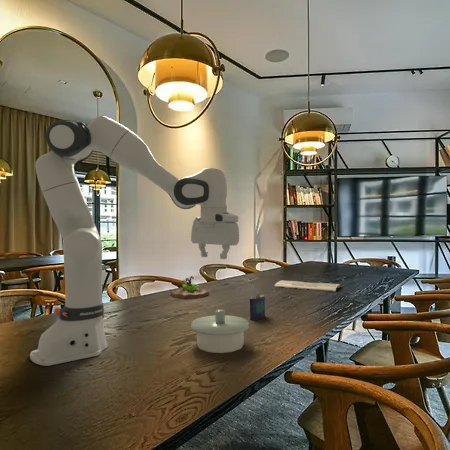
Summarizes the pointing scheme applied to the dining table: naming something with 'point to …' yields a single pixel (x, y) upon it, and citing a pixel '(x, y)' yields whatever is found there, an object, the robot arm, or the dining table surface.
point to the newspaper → (308, 285)
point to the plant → (189, 291)
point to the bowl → (220, 342)
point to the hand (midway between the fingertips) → (213, 257)
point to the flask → (257, 307)
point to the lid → (220, 324)
